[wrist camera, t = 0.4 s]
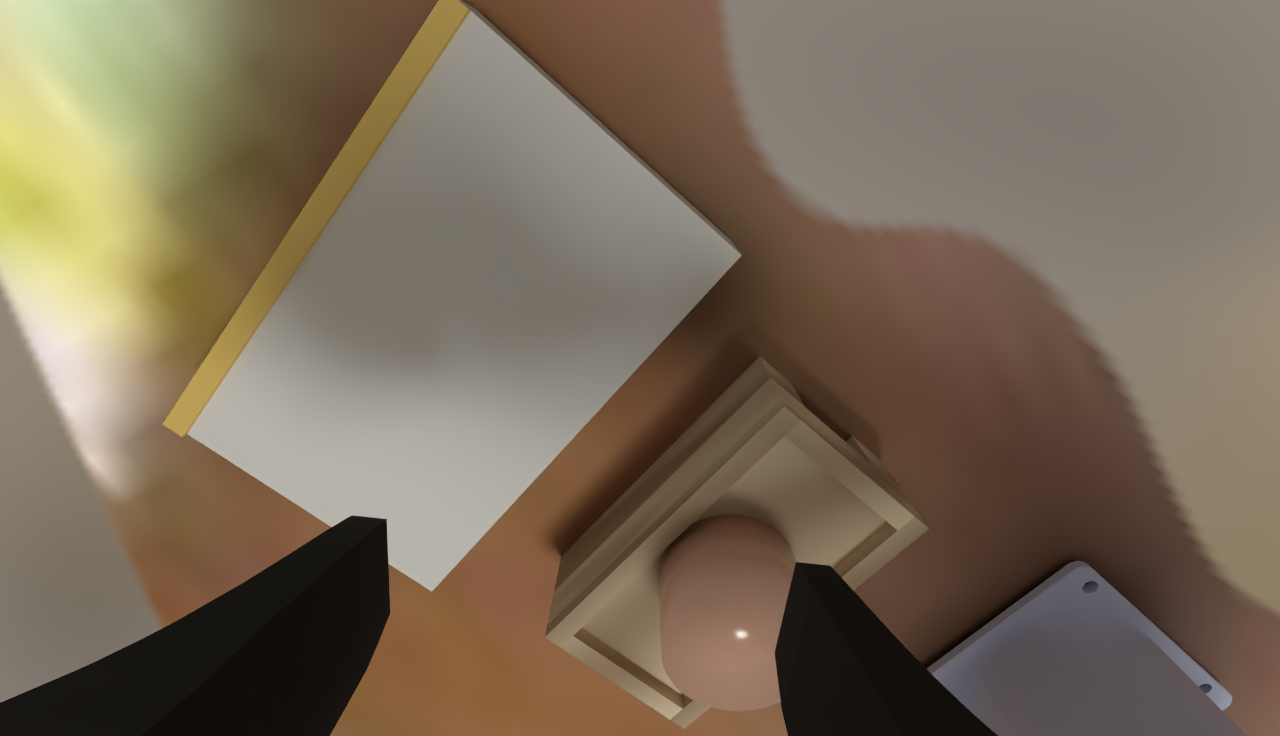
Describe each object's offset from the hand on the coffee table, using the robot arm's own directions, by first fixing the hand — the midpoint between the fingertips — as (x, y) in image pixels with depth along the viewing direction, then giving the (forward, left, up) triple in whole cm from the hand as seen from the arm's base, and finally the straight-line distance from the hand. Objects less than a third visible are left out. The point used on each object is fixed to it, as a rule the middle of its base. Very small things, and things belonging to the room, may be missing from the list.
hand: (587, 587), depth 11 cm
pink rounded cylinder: (-6, +1, -6) cm, 8 cm away
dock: (+5, +1, -10) cm, 11 cm away
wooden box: (-6, +1, -10) cm, 11 cm away
